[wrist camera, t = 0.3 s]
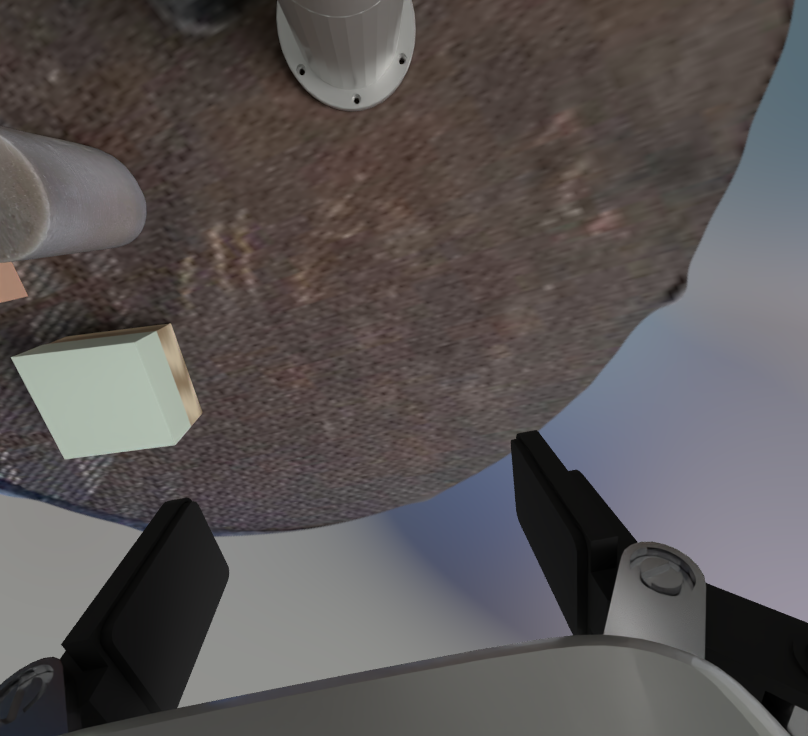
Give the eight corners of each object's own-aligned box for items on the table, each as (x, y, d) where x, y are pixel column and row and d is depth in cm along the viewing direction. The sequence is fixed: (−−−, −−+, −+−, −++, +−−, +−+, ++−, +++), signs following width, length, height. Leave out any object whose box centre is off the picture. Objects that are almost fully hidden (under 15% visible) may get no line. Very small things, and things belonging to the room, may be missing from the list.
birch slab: (69, 335, 45) (42, 346, 41) (172, 322, 45) (154, 331, 41) (110, 423, 49) (89, 440, 46) (204, 411, 50) (190, 427, 46)
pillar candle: (41, 226, 40) (-132, 234, 26) (49, 126, 37) (-143, 76, 23) (140, 262, 42) (29, 287, 28) (156, 171, 39) (40, 149, 25)
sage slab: (43, 344, 41) (10, 357, 37) (156, 330, 41) (135, 342, 38) (89, 439, 46) (64, 459, 42) (191, 426, 46) (175, 445, 42)
